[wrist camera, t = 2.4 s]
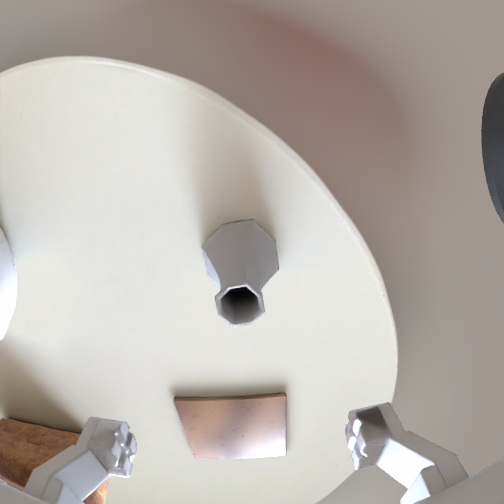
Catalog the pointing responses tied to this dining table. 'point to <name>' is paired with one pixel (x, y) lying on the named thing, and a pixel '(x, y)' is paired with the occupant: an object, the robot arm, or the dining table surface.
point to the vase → (6, 284)
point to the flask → (240, 269)
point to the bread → (35, 453)
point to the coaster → (234, 425)
